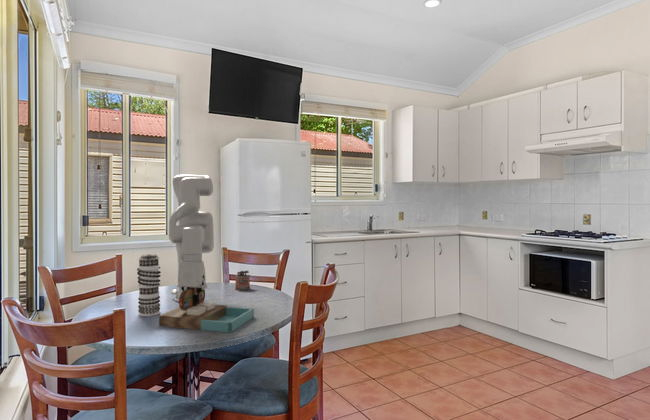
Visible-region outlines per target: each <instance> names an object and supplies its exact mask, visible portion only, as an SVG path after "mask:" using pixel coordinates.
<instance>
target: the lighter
mask: <svg viewBox="0 0 650 420" xmlns="http://www.w3.org/2000/svg"><path fill="white" fill-rule="evenodd" d="M249 273H250V271H249V270H240V271H237V275H234V278H235V288H234V290H235V291H246V290H250V289H251V287H250V285H251V284H250V283H251V282H250V281H251V279H250V278H251V274H249ZM245 289H246V290H245Z"/></svg>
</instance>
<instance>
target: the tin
mask: <svg viewBox="0 0 650 420" xmlns="http://www.w3.org/2000/svg"><path fill="white" fill-rule="evenodd" d="M201 287H202V286H200V288H201ZM193 295H194V288H193V287H191V288H189V289H186V290H184V291H183V292H182V293H181V295H180V297H179V302H178V304H179V305H178V307H180V309H181V310H183V311H187V309H189V308H191V307H193V306H197V305H198V304H200V303H202V302H205V299H206V290H205V289H204V290H202V291H201V293H200V294H199V303H198V304H196V305H193Z"/></svg>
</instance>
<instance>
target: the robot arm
mask: <svg viewBox="0 0 650 420" xmlns="http://www.w3.org/2000/svg"><path fill="white" fill-rule="evenodd" d="M172 187H173V191H174V193H175V196H176V199H177V202H178V207H176V209H174V211H173V212H172V213H171V216H170V218H169V220H168V221H169V222H168V238H169V241H170V242H171V243H172V244H175V247H176V252H177V253H176V255H177V289H173V290H172V292H171V295H173V296H174V295H175V297H174V302H178V303H179V297H180V295H181V293H182V292H183V291H184V290H186V289H189V288H191V287H193V288H194V295H193V305H196V304H198V303H199V294H200V293H201V291H202V290H205V289H208V285H207V283H206V282H207V281H206V279H207V278H206V268H205V262H204V260H203V254H209V253H212V252H213V250H214V247H215V246H214V245H215V244H214V243H215V241H214V239H215V237H214V234H215V233H214V217H213V215H212V213H211V212H209V211H200V208H201V199H200V197H206V196H207V197H209V196H211V195H213V193H214V183H213V180H212V178H211V177H210V176H209V175H204V174H201V175H200V174H177V175H175V176H174V177H173V178H172ZM177 223H178V225H177ZM200 286H202V287H201V288H200Z"/></svg>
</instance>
